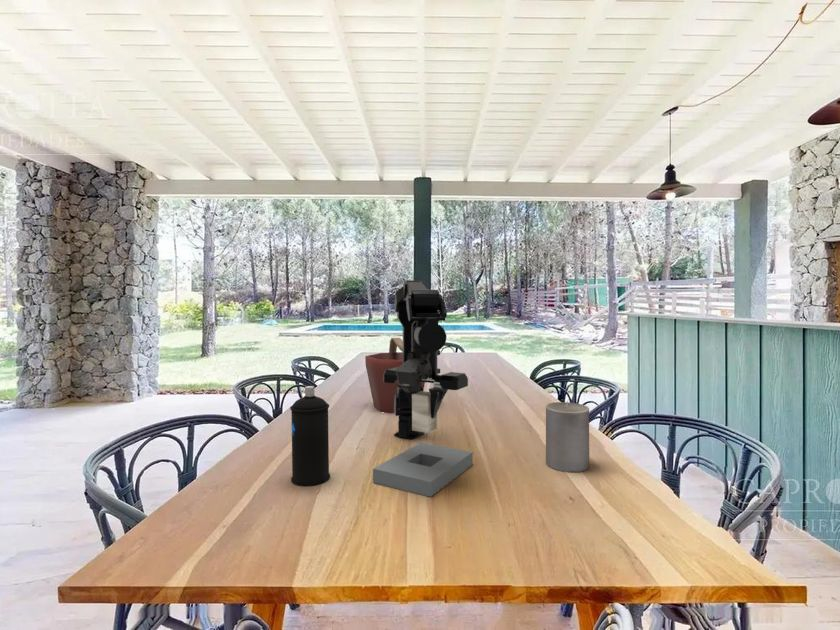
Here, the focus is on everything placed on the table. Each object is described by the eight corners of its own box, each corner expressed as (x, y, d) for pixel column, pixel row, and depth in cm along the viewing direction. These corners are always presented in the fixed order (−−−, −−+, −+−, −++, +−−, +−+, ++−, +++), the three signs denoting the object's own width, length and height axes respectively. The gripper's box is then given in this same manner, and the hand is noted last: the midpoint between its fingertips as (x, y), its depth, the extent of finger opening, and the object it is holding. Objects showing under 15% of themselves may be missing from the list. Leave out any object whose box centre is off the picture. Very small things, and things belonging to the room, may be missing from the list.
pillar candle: (558, 454, 112) (558, 394, 112) (596, 464, 105) (596, 400, 105) (537, 465, 106) (537, 401, 105) (577, 476, 99) (577, 408, 98)
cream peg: (421, 425, 103) (421, 391, 103) (436, 428, 101) (436, 392, 101) (412, 430, 100) (411, 394, 99) (427, 433, 98) (427, 396, 97)
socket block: (421, 454, 113) (421, 442, 113) (472, 464, 106) (472, 452, 106) (373, 482, 96) (372, 468, 96) (430, 497, 88) (430, 482, 88)
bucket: (427, 416, 149) (427, 341, 148) (360, 416, 149) (360, 341, 148) (427, 400, 173) (427, 335, 172) (370, 400, 173) (369, 335, 172)
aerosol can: (337, 473, 101) (336, 384, 100) (317, 488, 93) (315, 391, 92) (305, 469, 103) (304, 382, 103) (283, 483, 95) (281, 389, 95)
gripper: (368, 347, 98) (368, 419, 98) (445, 352, 88) (445, 432, 89) (397, 343, 107) (397, 408, 108) (469, 347, 98) (469, 419, 98)
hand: (424, 416), depth 100 cm, fingers closed on cream peg, 4 cm apart
